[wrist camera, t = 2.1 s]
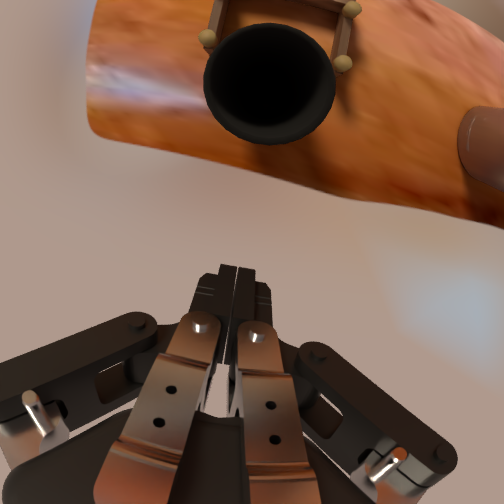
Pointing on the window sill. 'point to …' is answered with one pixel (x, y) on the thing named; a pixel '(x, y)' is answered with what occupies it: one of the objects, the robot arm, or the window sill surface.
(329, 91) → the cup
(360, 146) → the window sill surface
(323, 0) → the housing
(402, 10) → the window sill surface
